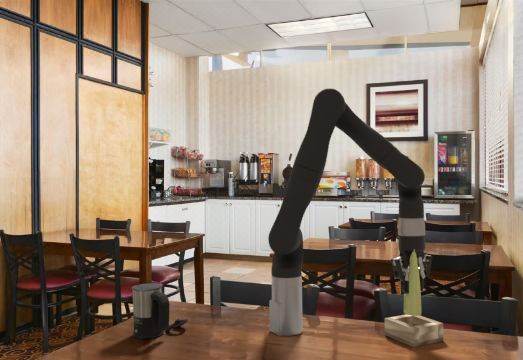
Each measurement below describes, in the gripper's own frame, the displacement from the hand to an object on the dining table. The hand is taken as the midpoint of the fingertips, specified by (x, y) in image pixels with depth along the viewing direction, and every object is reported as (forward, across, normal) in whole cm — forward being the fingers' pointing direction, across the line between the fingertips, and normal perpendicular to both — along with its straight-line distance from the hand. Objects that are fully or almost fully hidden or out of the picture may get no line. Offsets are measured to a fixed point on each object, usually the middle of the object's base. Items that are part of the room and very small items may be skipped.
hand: (412, 291), depth 144 cm
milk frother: (+14, +63, -42) cm, 77 cm away
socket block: (+13, 0, 0) cm, 13 cm away
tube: (+7, 0, 0) cm, 7 cm away
